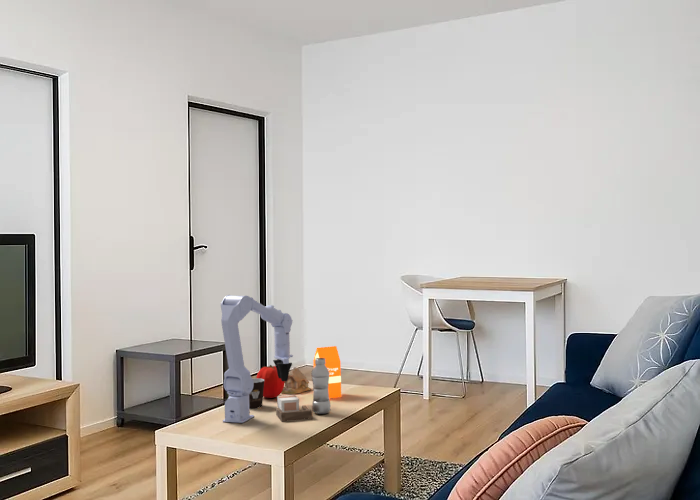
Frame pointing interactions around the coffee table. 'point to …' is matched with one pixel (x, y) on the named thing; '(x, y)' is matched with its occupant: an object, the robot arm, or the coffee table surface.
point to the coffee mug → (256, 394)
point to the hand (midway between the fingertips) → (282, 379)
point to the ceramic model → (295, 382)
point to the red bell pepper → (270, 381)
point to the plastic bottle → (320, 387)
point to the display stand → (294, 414)
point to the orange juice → (331, 369)
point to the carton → (288, 403)
